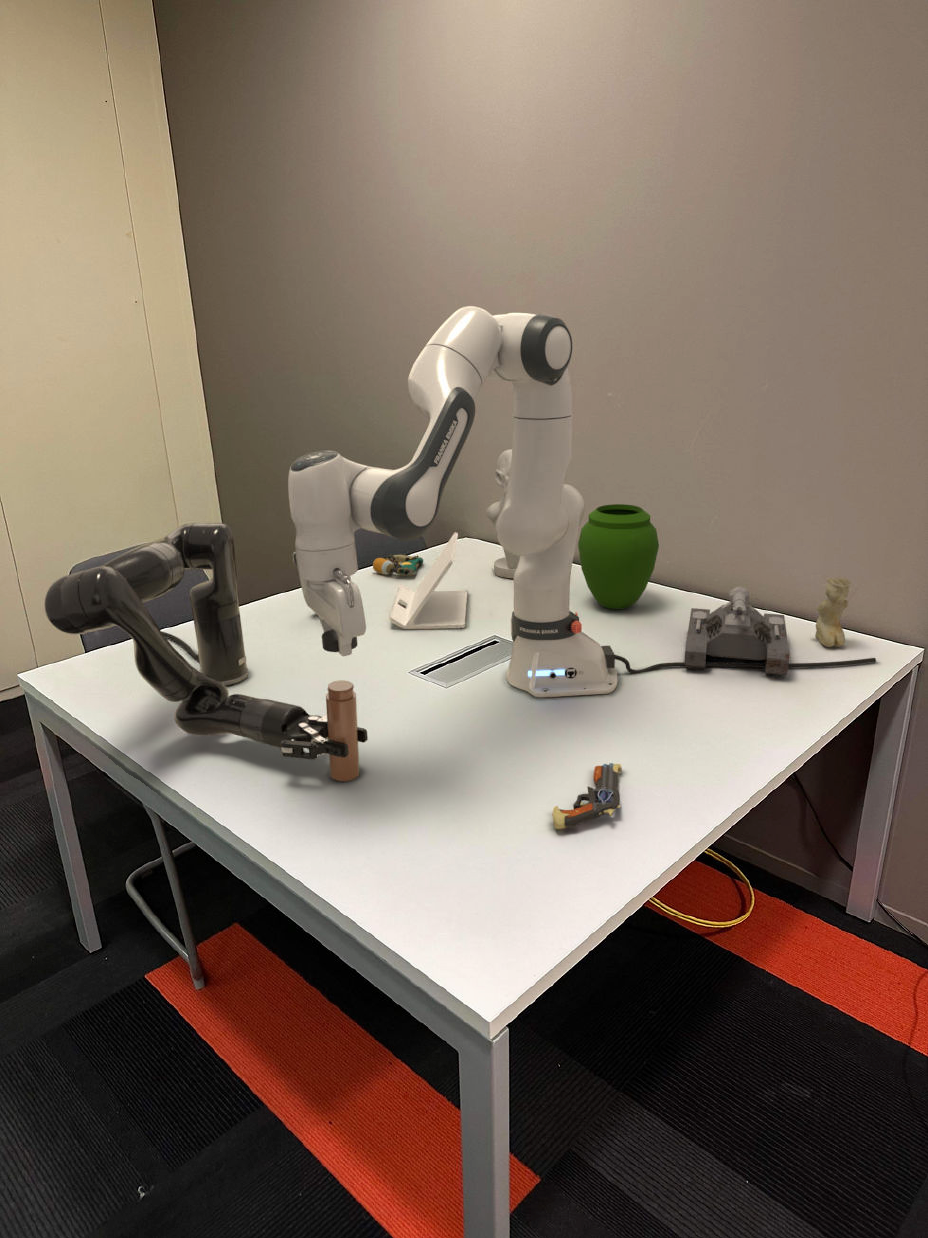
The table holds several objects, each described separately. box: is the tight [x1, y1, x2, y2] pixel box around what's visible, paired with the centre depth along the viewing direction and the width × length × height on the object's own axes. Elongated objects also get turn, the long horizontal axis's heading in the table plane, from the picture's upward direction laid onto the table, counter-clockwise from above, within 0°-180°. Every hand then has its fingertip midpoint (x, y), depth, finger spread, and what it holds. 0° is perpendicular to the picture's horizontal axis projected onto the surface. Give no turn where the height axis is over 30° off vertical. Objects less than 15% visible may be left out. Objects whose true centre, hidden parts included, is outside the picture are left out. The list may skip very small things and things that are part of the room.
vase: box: [577, 503, 660, 610], centre depth 210 cm, size 20×20×24 cm
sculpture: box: [814, 576, 852, 648], centre depth 185 cm, size 6×7×15 cm
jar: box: [325, 679, 360, 782], centre depth 139 cm, size 5×5×16 cm
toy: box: [683, 586, 791, 676], centre depth 181 cm, size 25×20×15 cm
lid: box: [321, 629, 358, 653], centre depth 133 cm, size 5×5×2 cm
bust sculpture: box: [485, 448, 520, 579], centre depth 231 cm, size 16×24×35 cm
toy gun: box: [552, 762, 623, 830], centre depth 132 cm, size 3×19×10 cm
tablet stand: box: [388, 531, 468, 630], centre depth 211 cm, size 18×25×17 cm
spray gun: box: [372, 553, 424, 577], centre depth 246 cm, size 4×17×15 cm
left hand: (356, 743), depth 138 cm, fingers closed on jar, 5 cm apart
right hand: (338, 647), depth 133 cm, fingers closed on lid, 5 cm apart
